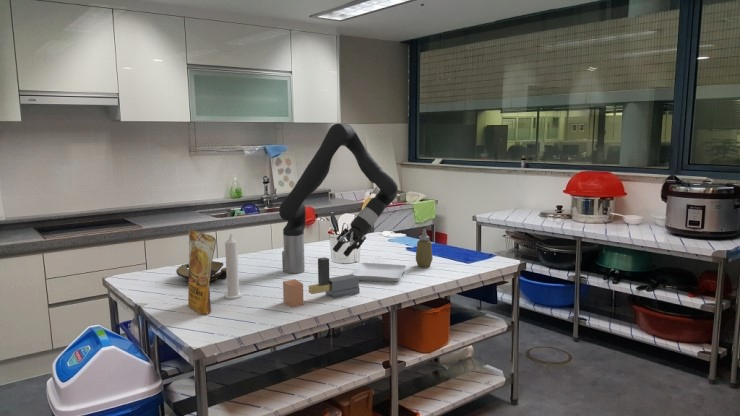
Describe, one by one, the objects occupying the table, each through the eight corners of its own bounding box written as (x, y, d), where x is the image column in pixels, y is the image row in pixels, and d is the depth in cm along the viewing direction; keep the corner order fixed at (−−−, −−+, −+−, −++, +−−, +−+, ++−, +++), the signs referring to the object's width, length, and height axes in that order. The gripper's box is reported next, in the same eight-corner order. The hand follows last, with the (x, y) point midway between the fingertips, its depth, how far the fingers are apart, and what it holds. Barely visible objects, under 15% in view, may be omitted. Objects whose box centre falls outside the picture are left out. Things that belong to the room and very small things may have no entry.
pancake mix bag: (200, 299, 202) (196, 228, 198) (221, 313, 188) (217, 236, 184) (183, 303, 198) (178, 230, 194) (202, 317, 184) (198, 238, 179)
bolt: (353, 283, 213) (353, 253, 211) (357, 285, 211) (357, 254, 209) (308, 292, 203) (307, 259, 201) (312, 294, 200) (311, 261, 198)
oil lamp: (218, 269, 247) (218, 253, 246) (244, 284, 223) (244, 266, 222) (169, 277, 234) (168, 260, 233) (191, 294, 210) (190, 275, 209)
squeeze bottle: (413, 267, 248) (413, 229, 246) (418, 263, 256) (418, 226, 253) (429, 269, 245) (430, 230, 243) (434, 264, 253) (435, 227, 250)
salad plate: (400, 285, 222) (400, 277, 221) (350, 282, 226) (350, 274, 225) (406, 271, 242) (406, 264, 242) (361, 269, 246) (361, 262, 246)
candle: (233, 300, 202) (230, 236, 198) (220, 297, 205) (217, 234, 202) (246, 295, 208) (244, 233, 204) (233, 292, 211) (231, 231, 207)
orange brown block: (295, 299, 202) (295, 279, 201) (303, 304, 197) (303, 283, 195) (283, 301, 200) (282, 281, 199) (291, 307, 194) (290, 286, 193)
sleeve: (351, 289, 215) (351, 273, 214) (359, 293, 210) (359, 277, 209) (325, 294, 209) (325, 278, 208) (332, 298, 204) (332, 282, 203)
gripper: (349, 212, 215) (325, 243, 210) (368, 217, 203) (342, 250, 199) (360, 224, 218) (336, 255, 214) (379, 229, 206) (355, 262, 202)
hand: (339, 253), depth 206 cm, fingers open, 8 cm apart
